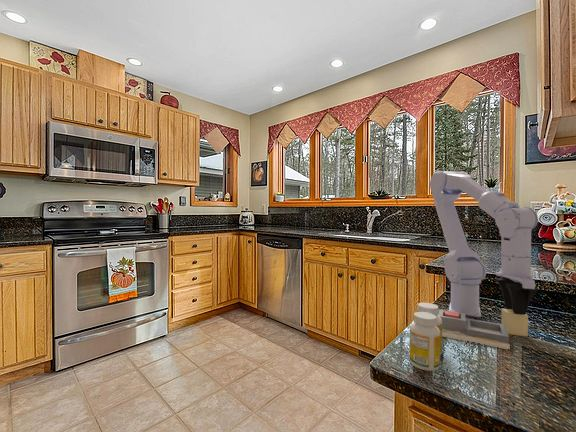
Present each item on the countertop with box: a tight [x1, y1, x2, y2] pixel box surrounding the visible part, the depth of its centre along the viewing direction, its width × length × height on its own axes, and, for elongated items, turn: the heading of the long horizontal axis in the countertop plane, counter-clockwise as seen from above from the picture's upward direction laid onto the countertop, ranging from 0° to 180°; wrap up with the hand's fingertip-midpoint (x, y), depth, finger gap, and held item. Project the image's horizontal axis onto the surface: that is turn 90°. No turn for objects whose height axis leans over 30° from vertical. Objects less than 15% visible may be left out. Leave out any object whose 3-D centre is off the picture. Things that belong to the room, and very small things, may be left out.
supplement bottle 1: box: [417, 302, 443, 356], centre depth 60 cm, size 5×5×10 cm
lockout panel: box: [437, 309, 511, 350], centre depth 68 cm, size 10×14×4 cm
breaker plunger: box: [445, 310, 459, 318], centre depth 70 cm, size 3×3×3 cm
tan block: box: [501, 308, 529, 337], centre depth 70 cm, size 4×4×5 cm
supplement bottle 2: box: [409, 311, 441, 372], centre depth 55 cm, size 5×5×10 cm
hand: (514, 310), depth 70 cm, fingers open, 4 cm apart
